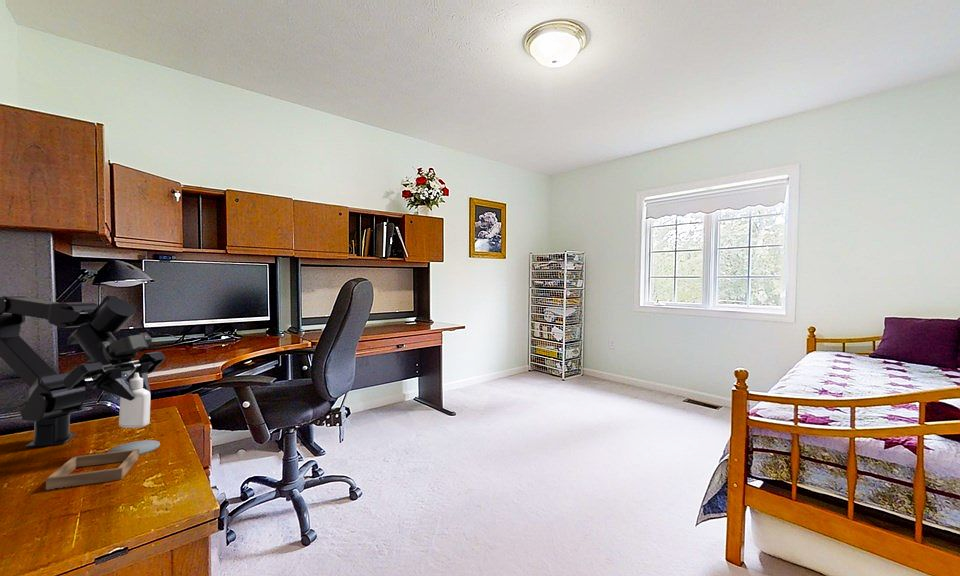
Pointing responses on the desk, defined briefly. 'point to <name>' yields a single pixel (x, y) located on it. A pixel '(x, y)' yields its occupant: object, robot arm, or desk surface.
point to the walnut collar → (67, 480)
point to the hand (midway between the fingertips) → (140, 396)
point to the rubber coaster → (138, 446)
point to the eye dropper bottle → (135, 405)
